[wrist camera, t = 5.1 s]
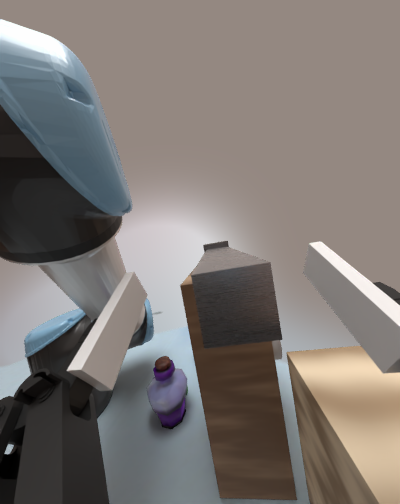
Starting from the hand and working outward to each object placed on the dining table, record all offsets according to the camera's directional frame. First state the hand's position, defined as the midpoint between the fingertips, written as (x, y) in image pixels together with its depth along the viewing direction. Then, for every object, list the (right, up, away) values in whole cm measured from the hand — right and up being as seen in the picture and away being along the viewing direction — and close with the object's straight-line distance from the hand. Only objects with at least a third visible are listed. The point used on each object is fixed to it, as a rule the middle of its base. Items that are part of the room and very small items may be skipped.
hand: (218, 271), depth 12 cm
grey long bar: (+1, -2, +8) cm, 8 cm away
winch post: (+9, -31, +15) cm, 35 cm away
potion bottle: (-7, -33, +21) cm, 40 cm away
